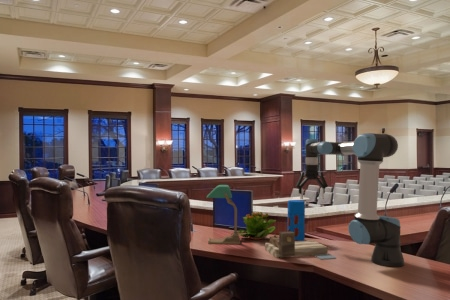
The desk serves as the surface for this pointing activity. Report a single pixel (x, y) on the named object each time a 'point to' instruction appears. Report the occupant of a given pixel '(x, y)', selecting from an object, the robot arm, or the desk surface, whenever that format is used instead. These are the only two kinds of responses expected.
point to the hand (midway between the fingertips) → (311, 199)
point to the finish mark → (325, 256)
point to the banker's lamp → (225, 192)
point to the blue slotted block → (296, 218)
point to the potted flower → (256, 226)
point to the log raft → (300, 249)
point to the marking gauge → (284, 243)
